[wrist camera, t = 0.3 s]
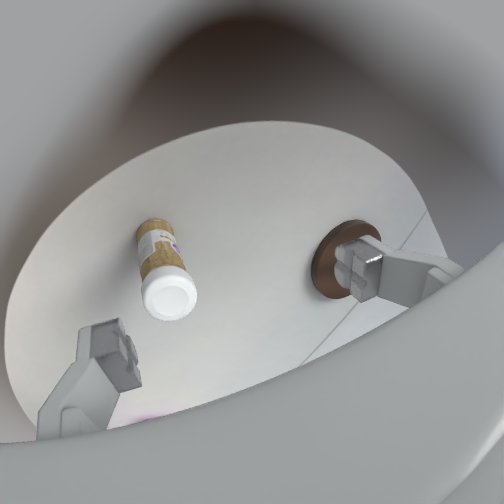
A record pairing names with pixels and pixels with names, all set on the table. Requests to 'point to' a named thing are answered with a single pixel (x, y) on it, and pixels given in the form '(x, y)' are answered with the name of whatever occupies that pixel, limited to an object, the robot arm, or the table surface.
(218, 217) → the table surface
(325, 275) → the disc
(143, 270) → the sprinkles bottle
